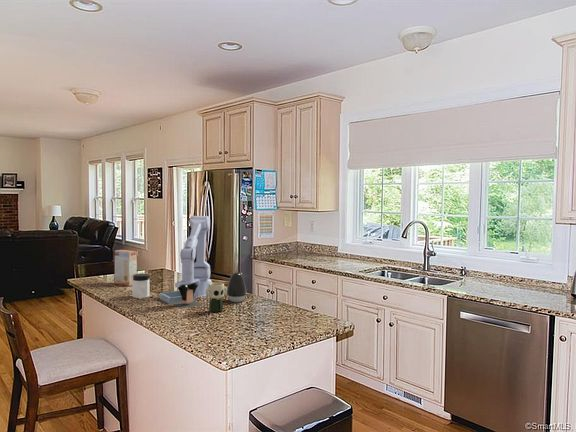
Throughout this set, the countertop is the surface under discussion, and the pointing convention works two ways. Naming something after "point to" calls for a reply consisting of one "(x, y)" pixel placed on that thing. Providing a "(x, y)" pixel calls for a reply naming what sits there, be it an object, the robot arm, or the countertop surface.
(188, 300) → the block
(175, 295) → the bin
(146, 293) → the jar
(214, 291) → the character mug
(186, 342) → the countertop surface
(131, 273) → the cracker box
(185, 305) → the mat
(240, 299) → the dark grey dome figure
